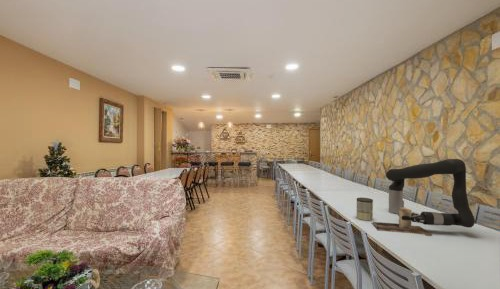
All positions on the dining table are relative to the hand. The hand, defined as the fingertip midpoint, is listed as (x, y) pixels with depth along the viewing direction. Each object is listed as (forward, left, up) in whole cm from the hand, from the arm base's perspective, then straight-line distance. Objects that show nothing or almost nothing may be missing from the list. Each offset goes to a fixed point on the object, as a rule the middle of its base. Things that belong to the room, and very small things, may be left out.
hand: (400, 216), depth 150 cm
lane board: (+1, 0, -8) cm, 8 cm away
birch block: (-2, +1, -7) cm, 7 cm away
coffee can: (+13, -19, -8) cm, 24 cm away
